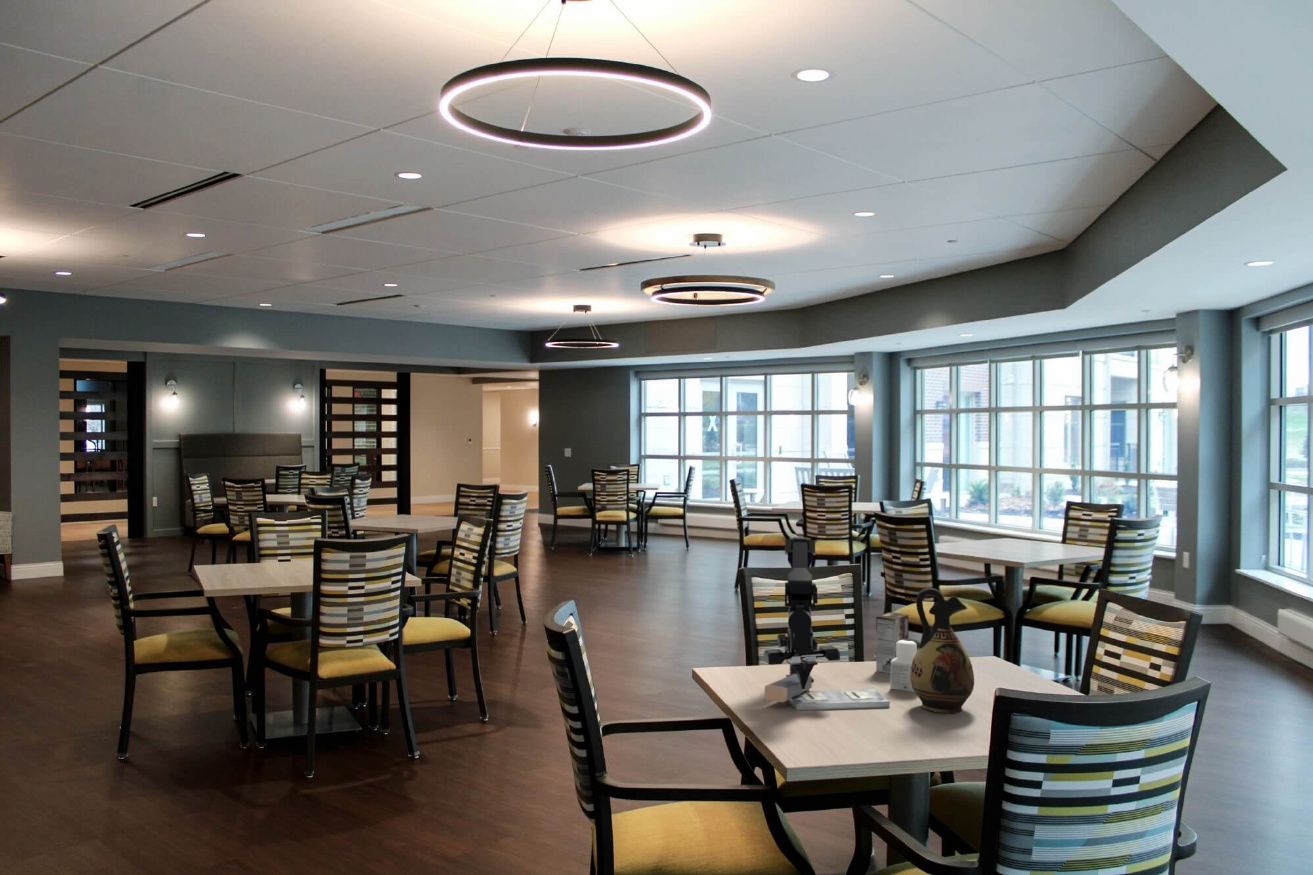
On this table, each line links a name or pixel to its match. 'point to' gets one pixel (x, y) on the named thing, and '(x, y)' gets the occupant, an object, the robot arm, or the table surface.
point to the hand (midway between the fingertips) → (803, 688)
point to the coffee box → (889, 638)
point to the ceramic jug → (941, 658)
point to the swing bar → (786, 688)
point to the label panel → (839, 699)
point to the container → (903, 664)
